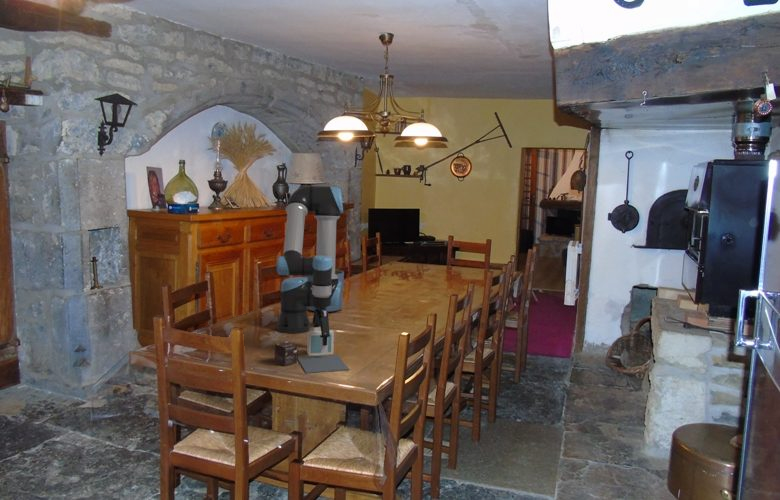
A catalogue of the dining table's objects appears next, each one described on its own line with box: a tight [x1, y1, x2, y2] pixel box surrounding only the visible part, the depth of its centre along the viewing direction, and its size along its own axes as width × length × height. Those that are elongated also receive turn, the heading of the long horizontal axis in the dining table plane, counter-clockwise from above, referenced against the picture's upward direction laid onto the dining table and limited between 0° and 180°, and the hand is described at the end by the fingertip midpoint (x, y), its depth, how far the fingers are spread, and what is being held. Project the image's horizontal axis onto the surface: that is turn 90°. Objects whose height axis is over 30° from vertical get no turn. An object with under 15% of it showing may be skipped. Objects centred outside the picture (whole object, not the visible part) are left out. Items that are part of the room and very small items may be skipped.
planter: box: [306, 268, 345, 313], centre depth 318 cm, size 19×19×20 cm
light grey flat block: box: [306, 329, 335, 356], centre depth 245 cm, size 3×10×9 cm, turn 109°
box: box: [274, 341, 298, 367], centre depth 232 cm, size 6×6×7 cm
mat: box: [297, 354, 350, 374], centre depth 233 cm, size 18×16×1 cm
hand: (320, 348), depth 245 cm, fingers open, 13 cm apart
